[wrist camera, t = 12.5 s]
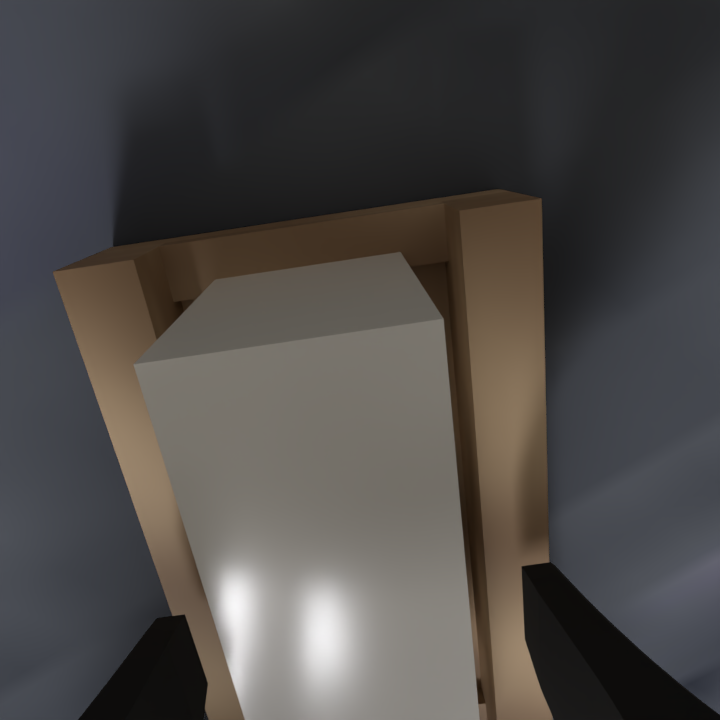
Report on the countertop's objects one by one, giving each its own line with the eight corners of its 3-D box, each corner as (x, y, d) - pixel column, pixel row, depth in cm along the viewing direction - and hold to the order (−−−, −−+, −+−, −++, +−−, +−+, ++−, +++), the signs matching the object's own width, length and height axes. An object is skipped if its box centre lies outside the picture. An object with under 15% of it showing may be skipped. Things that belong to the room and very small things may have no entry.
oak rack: (522, 685, 18) (553, 774, 16) (256, 722, 18) (242, 817, 16) (498, 189, 12) (542, 198, 10) (111, 247, 13) (52, 271, 10)
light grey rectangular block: (452, 709, 17) (498, 927, 12) (323, 727, 17) (317, 950, 12) (400, 251, 12) (443, 318, 7) (215, 279, 12) (133, 364, 7)
